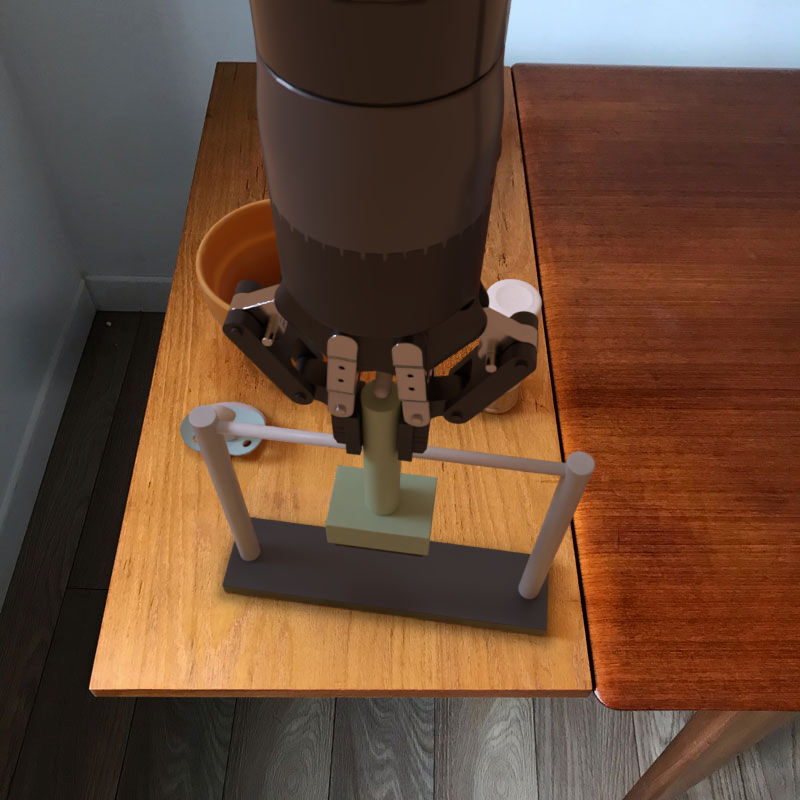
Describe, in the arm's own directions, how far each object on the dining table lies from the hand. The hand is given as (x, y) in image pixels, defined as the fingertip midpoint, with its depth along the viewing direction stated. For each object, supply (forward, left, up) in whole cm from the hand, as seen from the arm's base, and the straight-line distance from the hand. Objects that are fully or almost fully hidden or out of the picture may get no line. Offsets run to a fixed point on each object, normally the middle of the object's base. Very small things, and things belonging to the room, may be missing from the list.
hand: (382, 442), depth 39 cm
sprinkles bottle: (-7, -22, -25) cm, 34 cm away
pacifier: (+16, -14, -25) cm, 33 cm away
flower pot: (+12, -24, -25) cm, 37 cm away
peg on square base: (0, -2, -10) cm, 10 cm away
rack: (0, -3, -25) cm, 25 cm away
